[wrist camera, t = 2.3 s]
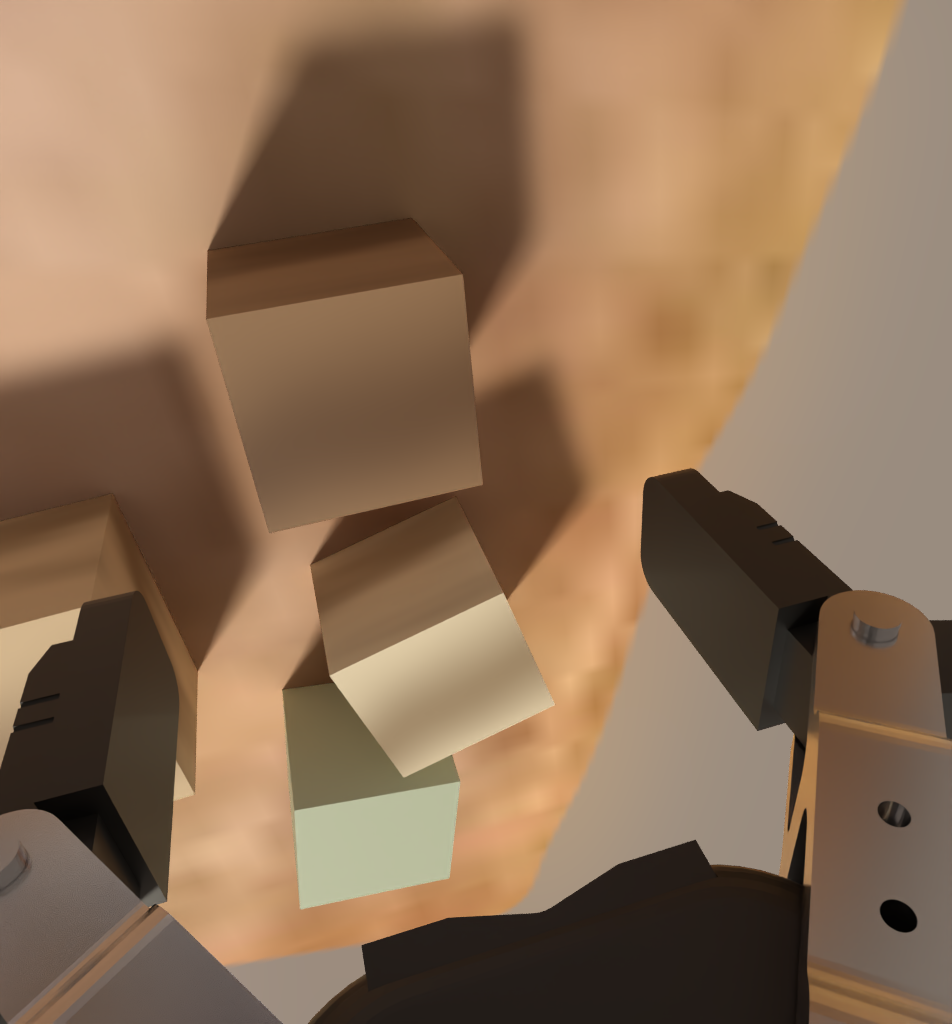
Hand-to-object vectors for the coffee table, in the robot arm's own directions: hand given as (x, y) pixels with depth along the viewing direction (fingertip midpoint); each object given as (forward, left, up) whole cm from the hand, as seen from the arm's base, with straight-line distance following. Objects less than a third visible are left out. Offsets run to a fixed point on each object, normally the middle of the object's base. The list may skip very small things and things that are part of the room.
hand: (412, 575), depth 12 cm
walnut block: (0, 0, -10) cm, 10 cm away
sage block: (+15, -2, -10) cm, 18 cm away
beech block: (+9, +1, -10) cm, 13 cm away
